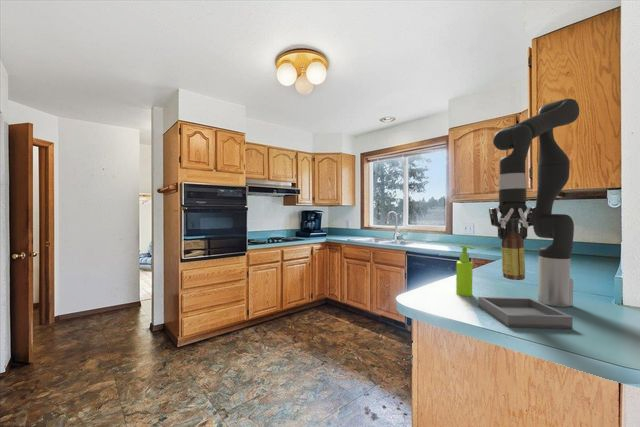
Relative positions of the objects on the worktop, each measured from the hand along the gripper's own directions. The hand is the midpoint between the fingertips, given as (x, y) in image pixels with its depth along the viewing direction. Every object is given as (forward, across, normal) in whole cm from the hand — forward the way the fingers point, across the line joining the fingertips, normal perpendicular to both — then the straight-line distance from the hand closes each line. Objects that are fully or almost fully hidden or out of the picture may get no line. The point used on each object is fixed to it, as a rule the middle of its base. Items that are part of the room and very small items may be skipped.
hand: (512, 238), depth 94 cm
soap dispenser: (+25, +6, -22) cm, 34 cm away
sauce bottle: (+13, 0, 0) cm, 13 cm away
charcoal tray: (+25, -2, +2) cm, 25 cm away
